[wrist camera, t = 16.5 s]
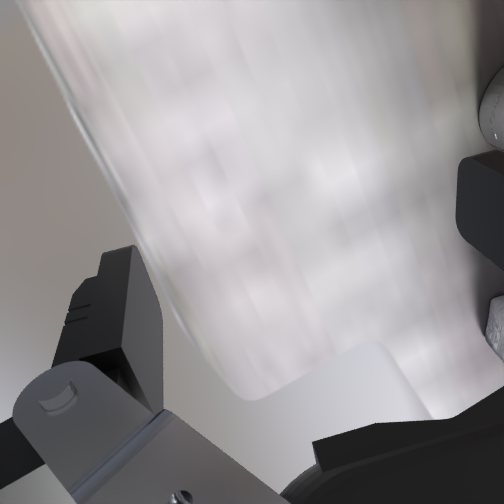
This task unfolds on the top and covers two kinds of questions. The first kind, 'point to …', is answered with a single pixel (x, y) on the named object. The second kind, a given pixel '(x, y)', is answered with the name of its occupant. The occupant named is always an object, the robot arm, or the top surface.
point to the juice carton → (496, 326)
